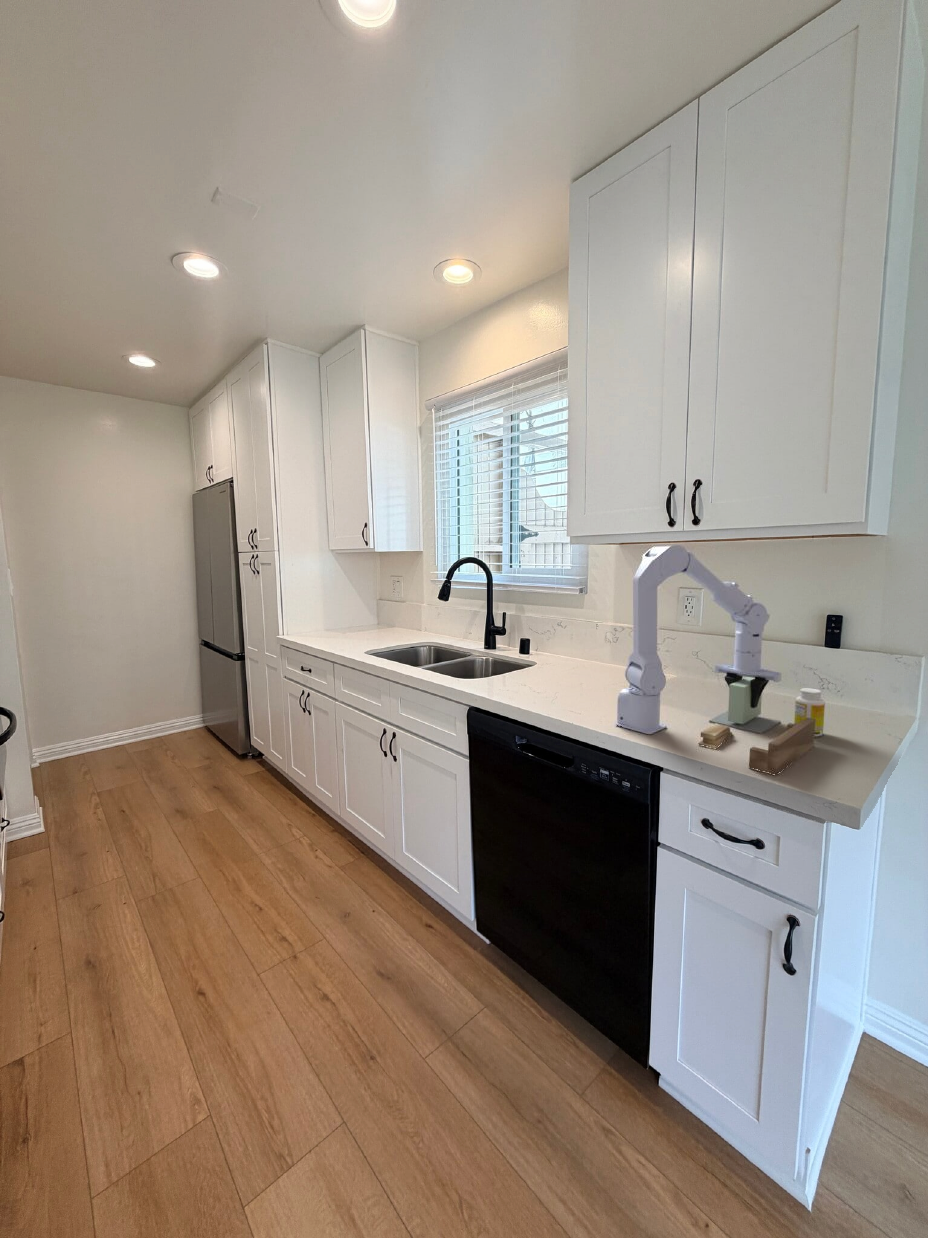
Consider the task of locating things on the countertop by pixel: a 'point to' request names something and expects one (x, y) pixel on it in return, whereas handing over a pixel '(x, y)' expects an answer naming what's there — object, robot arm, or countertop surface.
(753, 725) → the slate mat
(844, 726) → the countertop surface
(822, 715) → the supplement bottle
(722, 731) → the offcut stack
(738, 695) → the tall sage green prism
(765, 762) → the walnut rack
